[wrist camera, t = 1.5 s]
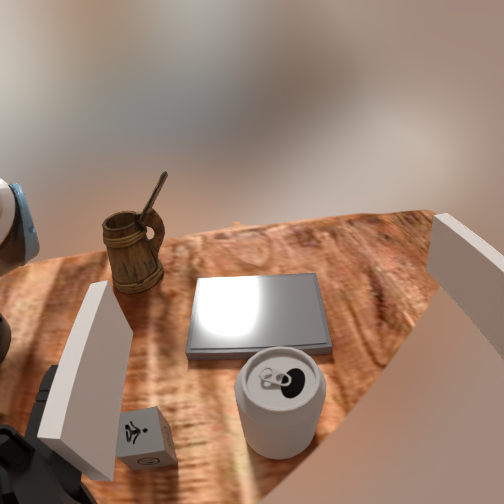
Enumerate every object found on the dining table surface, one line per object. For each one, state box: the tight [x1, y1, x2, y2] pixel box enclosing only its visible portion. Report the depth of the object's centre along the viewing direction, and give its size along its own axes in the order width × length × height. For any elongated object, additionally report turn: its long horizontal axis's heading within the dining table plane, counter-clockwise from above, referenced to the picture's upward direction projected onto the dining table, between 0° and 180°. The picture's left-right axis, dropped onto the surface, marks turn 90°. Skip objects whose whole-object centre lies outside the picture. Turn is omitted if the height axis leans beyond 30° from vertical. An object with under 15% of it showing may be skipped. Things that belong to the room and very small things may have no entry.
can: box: [234, 346, 326, 460], centre depth 27 cm, size 8×8×12 cm
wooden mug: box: [102, 171, 168, 294], centre depth 48 cm, size 9×14×18 cm, turn 93°
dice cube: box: [116, 406, 178, 470], centre depth 28 cm, size 5×5×5 cm
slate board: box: [185, 273, 332, 360], centre depth 44 cm, size 18×14×2 cm
